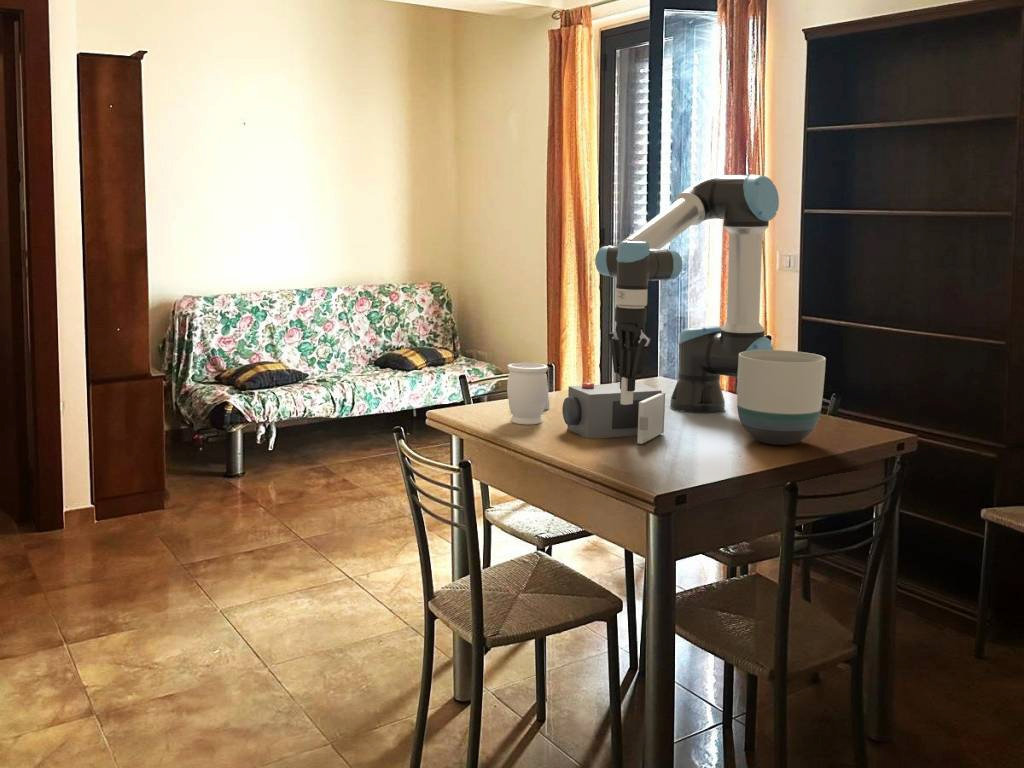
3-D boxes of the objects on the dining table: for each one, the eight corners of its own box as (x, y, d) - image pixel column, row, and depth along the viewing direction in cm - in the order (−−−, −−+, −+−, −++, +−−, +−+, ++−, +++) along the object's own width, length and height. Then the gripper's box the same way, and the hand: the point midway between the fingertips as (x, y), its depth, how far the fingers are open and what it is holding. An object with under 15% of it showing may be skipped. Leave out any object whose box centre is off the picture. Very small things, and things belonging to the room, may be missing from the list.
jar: (498, 421, 281) (499, 364, 278) (524, 416, 288) (526, 360, 285) (528, 428, 273) (529, 369, 271) (554, 422, 281) (556, 365, 278)
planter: (717, 436, 268) (722, 351, 264) (786, 431, 275) (791, 348, 271) (765, 455, 249) (771, 363, 245) (837, 449, 257) (844, 360, 253)
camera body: (636, 424, 281) (638, 378, 279) (660, 433, 269) (662, 386, 267) (560, 429, 272) (561, 382, 270) (580, 439, 261) (582, 391, 259)
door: (659, 431, 269) (660, 392, 268) (668, 432, 268) (670, 393, 267) (635, 443, 256) (637, 402, 254) (645, 444, 255) (647, 403, 253)
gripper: (600, 304, 258) (596, 401, 262) (639, 309, 248) (634, 409, 252) (623, 303, 263) (619, 398, 267) (661, 308, 253) (656, 406, 257)
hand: (626, 403), depth 260 cm, fingers closed
